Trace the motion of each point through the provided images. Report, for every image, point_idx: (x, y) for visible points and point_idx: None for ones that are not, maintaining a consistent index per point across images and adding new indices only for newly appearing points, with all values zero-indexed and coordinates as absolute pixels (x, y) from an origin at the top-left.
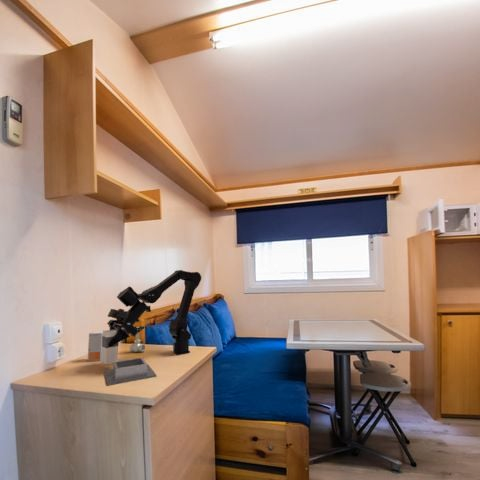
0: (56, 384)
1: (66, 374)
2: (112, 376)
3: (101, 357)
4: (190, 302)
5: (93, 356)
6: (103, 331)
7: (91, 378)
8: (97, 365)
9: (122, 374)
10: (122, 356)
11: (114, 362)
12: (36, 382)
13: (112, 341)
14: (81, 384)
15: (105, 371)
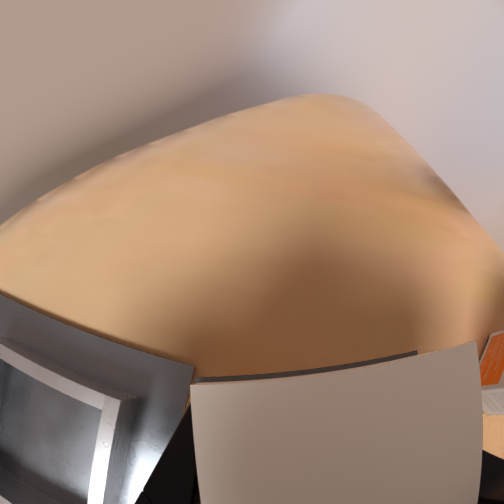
0: (192, 152)
1: (326, 208)
2: (55, 354)
3: None
4: None
5: (494, 354)
6: (438, 350)
7: (144, 278)
8: None
9: None
10: None
11: (99, 400)
12: (286, 116)
13: (166, 454)
14: (96, 220)
15: (180, 367)
